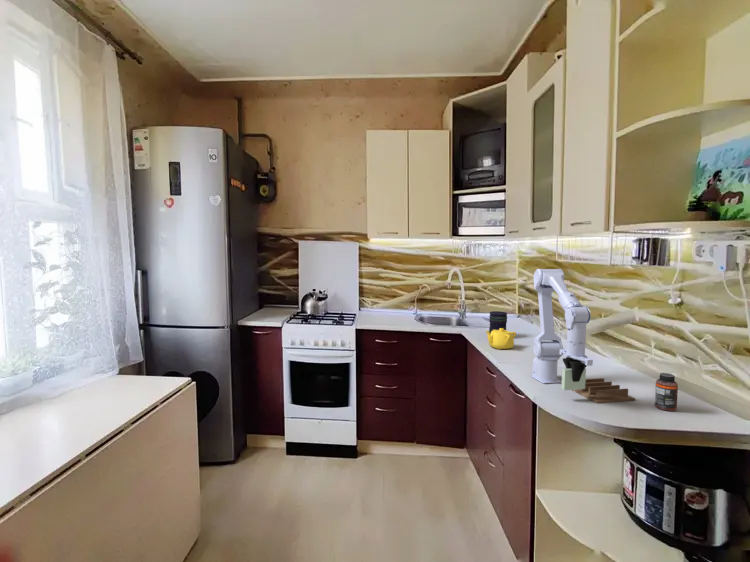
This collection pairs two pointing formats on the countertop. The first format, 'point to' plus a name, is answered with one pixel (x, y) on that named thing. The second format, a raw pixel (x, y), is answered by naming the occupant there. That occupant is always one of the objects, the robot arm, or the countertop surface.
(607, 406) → the countertop surface
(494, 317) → the storage jar
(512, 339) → the teapot
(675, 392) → the supplement bottle
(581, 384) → the pale green flat block
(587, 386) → the dish rack
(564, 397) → the countertop surface
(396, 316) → the countertop surface
